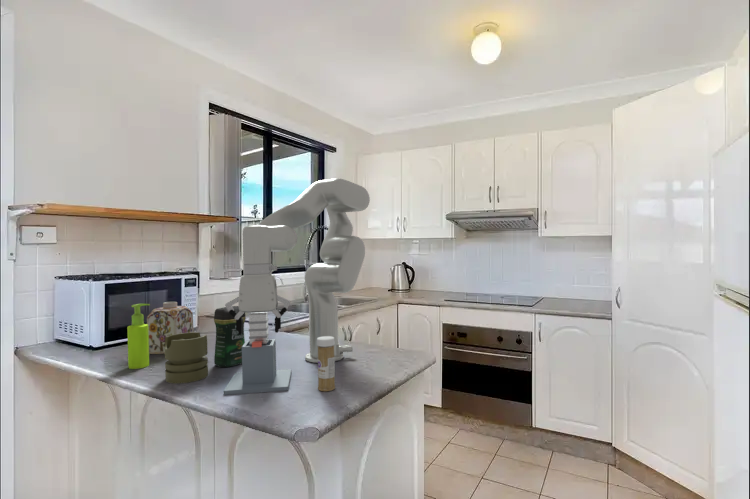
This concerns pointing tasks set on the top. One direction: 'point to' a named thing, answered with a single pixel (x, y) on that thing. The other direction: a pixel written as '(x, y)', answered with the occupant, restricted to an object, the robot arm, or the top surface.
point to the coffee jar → (228, 338)
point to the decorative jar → (167, 324)
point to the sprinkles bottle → (326, 363)
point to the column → (258, 327)
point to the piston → (186, 357)
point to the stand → (259, 371)
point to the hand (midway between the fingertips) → (259, 332)
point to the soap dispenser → (138, 340)
